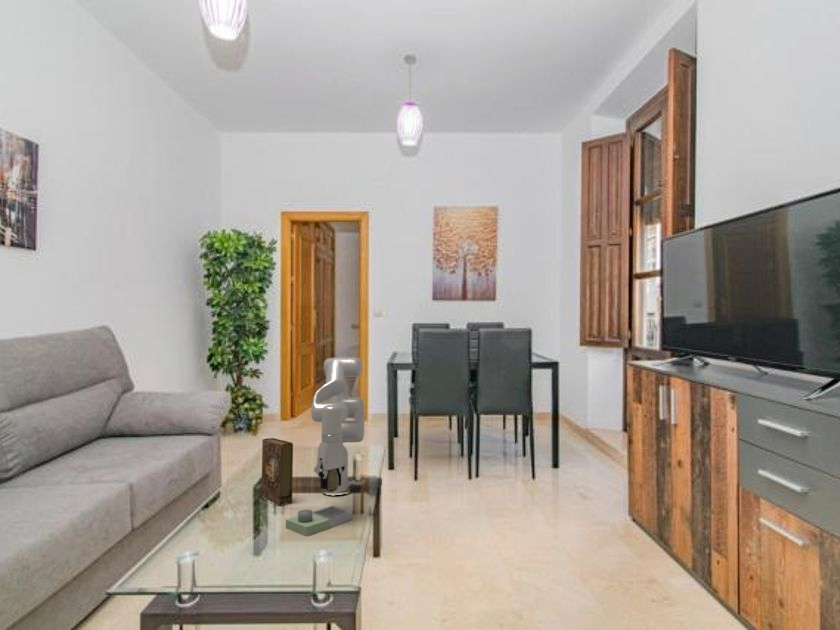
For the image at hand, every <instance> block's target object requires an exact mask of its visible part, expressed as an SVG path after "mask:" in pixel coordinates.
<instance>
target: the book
mask: <svg viewBox="0 0 840 630" xmlns="http://www.w3.org/2000/svg"><path fill="white" fill-rule="evenodd" d="M261 443H262V446H261V447H262V450H261V454H262V456H261V484H260V485H261V492H260V493H261V494H260V495H262V496H264V497H265V498H266V499H267V500H269V501H271V502H273V503H275V504H277V505H276V506H278V505H279V507H281V506H282V505H286V504H285V503H287V504H292V503H293V477H294V476H293V474H294V473H293V472H294V470H293V469H294V467H293V465H294V462H293V461H294V443H293V442H292V441H288V440H283V439H280V438H273V437H270V438H269V437H268V438H264V439H262V442H261ZM275 504H274V505H275Z"/></svg>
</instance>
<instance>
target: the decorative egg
mask: <svg viewBox="0 0 840 630" xmlns="http://www.w3.org/2000/svg"><path fill="white" fill-rule="evenodd" d="M326 478H327V479H328V480H327V489H326V491H327V492H334V491H335V490H336V489H337V488H338V486H339V476H338V473H337V470H336V469H332V470H328V473H327V476H326Z"/></svg>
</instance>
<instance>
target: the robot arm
mask: <svg viewBox="0 0 840 630" xmlns="http://www.w3.org/2000/svg"><path fill="white" fill-rule="evenodd" d="M323 371H324V375H325V377H326V378H325V383H324V384H323V385H322V386H320V387H319V388H318V390H316V392H315V393H314V395H313V397H312V403H311V409H310V412H311V413H310V414H311V419H312V420H313V422H315V423H321V442H320V443H319V444H318V448H317V449H318V450H317V455H316V466H315V467H314V469H313V472H315V473H316V475H317V476H318V477H319V479H320V489H322V490H323V489H325V490H326V489H327V480H328V479H327V478H326V476H327V473H328V470H332V469H336V470H337V473H338V476H339V486H338V488H337V489H336V490H335V491H334V492H341V491H345V490H346V489H347V488H348V487H349V486H350V485H351V484H353V483H355V482H356V480H349V479H348V477H349V476H348V475H349V474H348V473H349V472H348V471H349V452H348V449H347V448H346V446H345V445H344V444H345V443H361V442H362V441H363V440H364V437H365V403H364V399H363V398H362V397H359V396H349V385H348V383H347V377H348V378H350V377H351V378H354V377H356V378H359V377H360V376H361V374H362V372H363V362H362V359H361V358H360V357H355V356H353V357H352V356H351V357H349V356H339V357H329V358H327V359H325V360H324V362H323ZM325 400H329V402H324V401H325ZM348 418H349V419H350V418H351V419H354V420H347V419H348ZM355 484H356V483H355ZM351 486H352V485H351ZM351 486H350V487H351ZM350 487H349V488H350Z"/></svg>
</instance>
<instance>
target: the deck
mask: <svg viewBox="0 0 840 630" xmlns="http://www.w3.org/2000/svg"><path fill="white" fill-rule="evenodd" d="M312 512H313V510H311V509H301V510H299V511H298V512H297V515H296V516H292V517H289V518H287V519H285V529H287V530H289V531H292V532H295V533H298V534H299V535H303V536H304V537H308V536H311V535H314V534H317V533H319V532H320V533H321V532H323V531H326V530H328V529H330V528H329V520H328V519H325V518H322V517H319V516H316V515H314V514H312Z"/></svg>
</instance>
